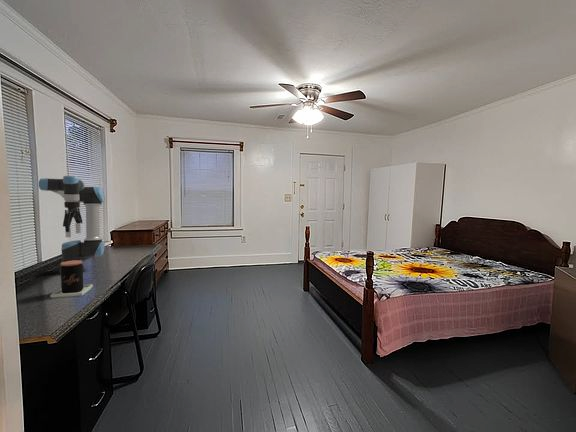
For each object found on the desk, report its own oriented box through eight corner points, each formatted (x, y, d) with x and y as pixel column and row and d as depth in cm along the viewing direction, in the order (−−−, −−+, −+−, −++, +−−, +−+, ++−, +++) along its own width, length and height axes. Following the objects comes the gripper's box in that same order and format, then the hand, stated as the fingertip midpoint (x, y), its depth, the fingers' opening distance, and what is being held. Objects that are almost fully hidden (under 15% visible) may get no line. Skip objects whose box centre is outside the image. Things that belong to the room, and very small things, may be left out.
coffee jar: (57, 295, 163) (56, 264, 162) (66, 289, 174) (65, 260, 172) (79, 293, 166) (77, 264, 165) (86, 287, 176) (85, 259, 175)
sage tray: (64, 288, 175) (63, 286, 175) (92, 287, 180) (92, 284, 179) (50, 297, 160) (50, 294, 160) (82, 295, 165) (82, 292, 164)
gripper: (74, 199, 183) (75, 231, 185) (54, 202, 159) (56, 239, 161) (87, 200, 185) (88, 231, 187) (69, 202, 161) (71, 238, 164)
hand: (73, 235), depth 174 cm, fingers open, 13 cm apart
